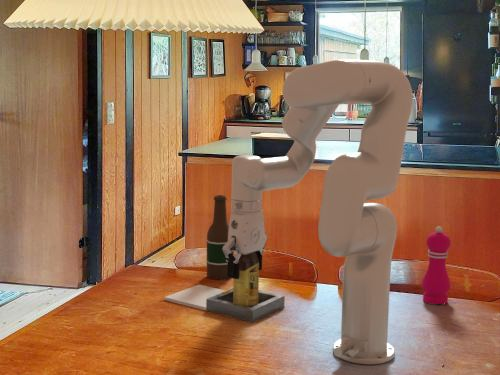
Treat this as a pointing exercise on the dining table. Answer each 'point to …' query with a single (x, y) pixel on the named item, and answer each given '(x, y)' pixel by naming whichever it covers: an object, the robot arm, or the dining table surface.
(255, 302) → the sauce bottle
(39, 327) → the dining table surface
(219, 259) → the beer bottle
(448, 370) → the dining table surface
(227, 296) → the collar
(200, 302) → the plate
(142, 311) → the dining table surface
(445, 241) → the pepper mill
